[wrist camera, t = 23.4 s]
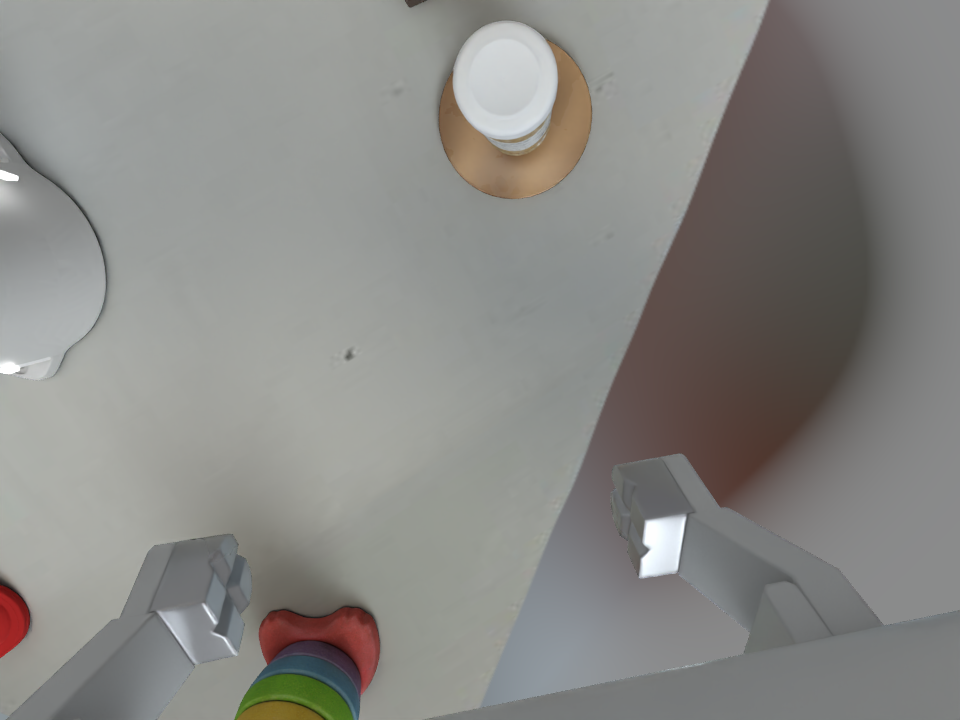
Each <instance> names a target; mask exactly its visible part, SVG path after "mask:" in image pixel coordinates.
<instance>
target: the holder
mask: <svg viewBox="0 0 960 720" xmlns="http://www.w3.org/2000/svg"><path fill="white" fill-rule="evenodd" d="M424 1H426V0H405V2H406V3H407V4H408V6H409V7H410V8H411V7H413V6H415V5H417V4H420V3H422V2H424Z"/></svg>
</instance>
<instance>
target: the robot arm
mask: <svg viewBox="0 0 960 720" xmlns="http://www.w3.org/2000/svg"><path fill="white" fill-rule="evenodd" d="M105 292H106V272H105V265H104V260H103V255H102V252H101V248H100V246H99V243H98V240H97V238H96V235H95V233H94V231H93V229H92V227H91V226H90V224H89V222H88V220H87V219H86V217H85V216H84V214H83V213H82V212H81V210H80V209H79V208H78V206H77V205H76V204H75V203H74V202H73V201H72V200H71V198H70V197H69V196H68V195H67V194H66V193H64V192H63V191H62V190H61V189H60V188H59V187H58V186H56V185H55V184H54V183H52V182H51V181H49V180H48V179H46V178H45V177H43V176H42V175H40V174H39V173H37V172H36V171H35V170H33V169H32V168H31V167H30V166H28V165H27V164H26V162H25V161H24V160H23V158H22V157H21V156H20V154H19V153H18V152H17V151H16V149H15V148H14V147H13V146H12V144H11V143H10V142H9V141H8V140H7V139H6V138H5V137H4V136H3V135H2V134H0V373H4V374H9V375H13V376H17V377H21V378H25V379H30V380H42V379H46V378H50V377H52V376H53V375H54V374H55V373H56V372H57V370H58V368H59V366H60V364H61V362H62V359H63V357H64V354H65V352H66V351H67V350H68V349H69V348H70V347H71V346H72V345H74V344H75V343H76V342H78V341H79V340H80V339H82V338H83V337H84V336H85V335H86V334H87V333H88V332H89V331H90V330H91V328H92V327H93V326H94V324H95V322H96V321H97V319H98V317H99V315H100V312H101V310H102V306H103V303H104V298H105ZM612 480H613V482H614V485H615V487H616V488H615V489H614V490H613V491H612V492H611V509H612V515H613V519H614V522H615V525H616V528H617V530H618V532H619V535H620V536H621V537H623V538H624V539H626V540H627V541H628V551H627V553H628V555H629V557H630V559H631V562H632V564H633V566H634V568H635V570H636V573H637V575H638V577H639V579H641V578H647V577H653V576H660V575H666V574H672V573H678V572H679V573H678V575H680V576H681V577H682V578H683V579H684V580H686V581H687V582H688V583H689V584H691V585H692V586H693V587H694V588H695V589H697V590H698V591H699V592H700V593H702V594H703V595H704V596H705V597H707V598H708V599H709V600H711V601H712V602H713V603H714V604H715V605H716V606H718V607H719V608H720V609H721V610H723V611H724V612H725V613H726V614H728V615H729V616H730V617H731V618H732V619H734V620H735V621H736V622H737V623H739V624H740V625H741V626H742V627H743V628H745V629H746V630H747V631H748V632H750V635H749V638H748V642H747V644H746V647H745V651H744V654H742V655H738V656H733V657H728V658H723V659H718V660H713V661H709V662H703V663H698V664H693V665H689V666H684V667H679V668H674V669H669V670H664V671H659V672H654V673H649V674H645V675H640V676H635V677H630V678H625V679H620V680H615V681H610V682H605V683H600V684H595V685H591V686H586V687H581V688H576V689H571V690H566V691H561V692H556V693H551V694H546V695H541V696H537V697H532V698H527V699H522V700H517V701H512V702H507V703H502V704H498V705H493V706H487V707H483V708H478V709H473V710H468V711H463V712H458V713H453V714H448V715H443V716H439V717H434V718H429V719H424V720H960V610H958V611H953V612H948V613H943V614H939V615H934V616H929V617H924V618H919V619H914V620H910V621H904V622H900V623H895V624H890V625H885V626H884V625H883V624H882V622H881V621H880V620H879V619H878V617H877V616H876V615H875V614H874V612H873V611H872V610H871V609H870V607H869V606H868V605H867V604H866V602H865V601H864V600H863V599H862V597H861V596H860V595H859V594H858V592H857V591H856V590H855V589H854V587H853V586H852V585H851V584H850V582H849V581H848V580H847V579H846V577H845V576H844V575H843V574H842V573H841V571H840V570H839V569H838V568H836V567H834V566H832V565H831V564H828V563H827V562H825V561H823V560H822V559H820V558H818V557H816V556H814V555H813V554H811V553H809V552H807V551H805V550H803V549H802V548H800V547H798V546H796V545H794V544H793V543H791V542H789V541H787V540H785V539H784V538H782V537H780V536H778V535H776V534H775V533H773V532H771V531H769V530H767V529H765V528H764V527H762V526H760V525H758V524H756V523H755V522H753V521H751V520H749V519H747V518H746V517H744V516H742V515H740V514H738V513H737V512H735V511H733V510H731V509H729V508H727V507H725V508H720V507H719V506H718V504H717V503H716V501H715V500H714V498H713V497H712V495H711V494H710V492H709V491H708V490H707V488H706V487H705V485H704V484H703V482H702V481H701V479H700V478H699V476H698V475H697V473H696V472H695V470H694V469H693V468H692V466H691V464H690V463H689V461H688V460H687V458H686V457H685V456H684V455H682V454H675V455H669V456H664V457H659V458H653V459H647V460H642V461H636V462H631V463H626V464H620V465H615V466H614V467H613V469H612ZM238 545H239V544H238V543H237V541H236V539H235V537H234V536H233V534H224V535H217V536H210V537H204V538H197V539H190V540H184V541H179V542H173V543H167V544H160V545H154V546H153V547H152V548H151V549H150V550H149V551H148V553H147V555H146V558H145V560H144V562H143V565H142V567H141V569H140V572H139V574H138V576H137V578H136V581H135V583H134V585H133V588H132V590H131V592H130V595H129V597H128V599H127V602H126V604H125V606H124V609H123V611H122V613H121V616H120V618H119V619H114V620H111V621H110V622H109V623H108V624H107V625H106V626H105V627H104V628H103V629H102V630H101V631H99V632H98V633H97V634H96V635H95V636H94V637H93V638H92V639H91V640H90V641H89V642H88V643H87V644H86V645H85V646H84V647H82V648H81V649H80V650H79V651H78V652H77V653H76V654H75V655H74V656H73V657H72V658H71V659H70V660H69V661H68V662H67V663H65V664H64V665H63V666H62V667H61V668H60V669H59V670H58V671H57V672H56V673H55V674H54V675H53V676H52V677H51V678H50V679H49V680H47V681H46V682H45V683H44V684H43V685H42V686H41V687H40V688H39V689H38V690H37V691H36V692H35V693H34V694H33V695H32V696H30V697H29V698H28V699H27V700H26V701H25V702H24V703H23V704H22V705H21V706H20V707H19V708H18V709H17V710H16V711H15V712H14V713H12V714H11V715H10V716H9V717H8V718H7V719H6V720H157V718H158V717H159V716H160V714H161V713H162V712H163V710H164V709H165V707H166V706H167V705H168V703H169V702H170V701H171V699H172V698H173V696H174V695H175V694H176V692H177V691H178V690H179V688H180V687H181V686H182V684H183V683H184V681H185V680H186V679H187V677H188V676H189V675H190V673H191V672H192V671H193V669H194V668H195V667H194V665H196V664H201V663H205V662H210V661H215V660H219V659H224V658H228V657H233V656H237V655H238V652H239V648H240V643H241V639H242V634H243V630H244V626H245V624H244V622H243V620H242V618H241V616H240V614H241V613H242V612H243V611H244V609H245V608H246V607H247V606H248V605H249V603H250V598H251V593H252V575H251V571H250V567H249V564H248V562H247V560H246V558H244V557H242V556H240V555H238V554H236V553H237V549H238Z"/></svg>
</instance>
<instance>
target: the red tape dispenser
mask: <svg viewBox="0 0 960 720" xmlns="http://www.w3.org/2000/svg"><path fill="white" fill-rule="evenodd" d="M29 624H30V616H29V611H28V608H27V606H26V604H25V603H24V601H23V600H22V599H21V598H20V596H19V595H17V594H16V593H15V592H14V591H12V590H10V589H9V588H7V587H5V586H2V585H0V658H1V657H2V656H4V655H5V654H6V653H8V652H9V651H10V650H12V649H13V648H14V647H15V646H16V645H18V644H19V643H20V642H21V641H22V639H23V638H24V637H25V635H26V634H27V631H28V628H29Z"/></svg>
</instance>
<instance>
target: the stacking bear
mask: <svg viewBox="0 0 960 720" xmlns="http://www.w3.org/2000/svg"><path fill="white" fill-rule="evenodd" d="M259 640H260V645H261V649H262V653H263V655H264V658H265V660H266V662H267V667H266V668H265V669H264V670H263V671H262V672H261V673H260V674H259V676H258V677H257V678H256V680H255V681H254V682H253V684H252V685H251V687H250V688H249V690H248V691H247V693H246V694H245V696H244V698H243V700H242V702H241V704H240V706H239V709H238V711H237V714H236V717H235V719H234V720H358V718H359V711H360V697H361V695H362V694H363V692H364V691H365V690H366V688H367V687H368V685H369V684H370V682H371V680H372V678H373V676H374V674H375V671H376V668H377V665H378V660H379V654H380V642H379V635H378V630H377V627H376V624H375V622H374V620H373V618H372V617H371V616H370V615H369V614H367V613H365V612H364V611H363V610H361V609H359V608H349V607H344V608H341V609H339V610H337V611H336V612H334V613H333V614H331V615H329V616H326V617H323V618H306V617H302V616H300V615H297V614H295V613H292V612H290V611H286V610H282V611H278V612H276V611H272V612H270V613H269V614H268V615H267V617H266V618H265V619H264V620H263V621H262V623H261V625H260V628H259Z"/></svg>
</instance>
